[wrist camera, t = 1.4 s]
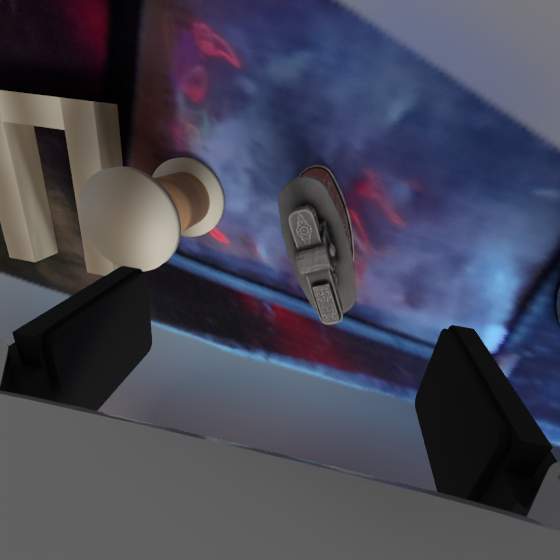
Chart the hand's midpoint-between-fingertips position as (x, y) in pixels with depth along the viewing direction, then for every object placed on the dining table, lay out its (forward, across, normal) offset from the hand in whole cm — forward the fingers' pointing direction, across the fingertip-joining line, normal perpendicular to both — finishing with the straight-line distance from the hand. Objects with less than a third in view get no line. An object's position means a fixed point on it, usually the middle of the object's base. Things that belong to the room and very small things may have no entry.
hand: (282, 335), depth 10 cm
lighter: (+16, -1, 0) cm, 16 cm away
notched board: (+16, +21, 0) cm, 26 cm away
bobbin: (+16, +10, 0) cm, 19 cm away
